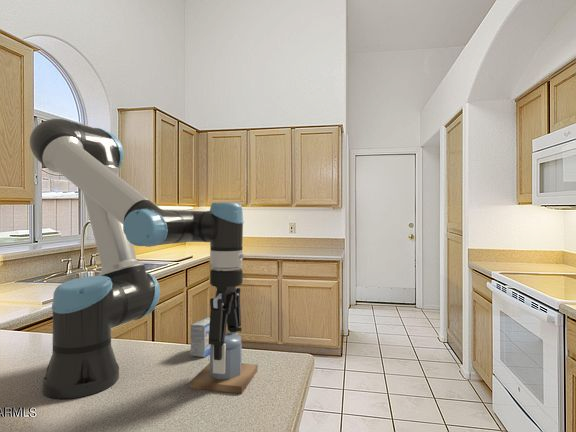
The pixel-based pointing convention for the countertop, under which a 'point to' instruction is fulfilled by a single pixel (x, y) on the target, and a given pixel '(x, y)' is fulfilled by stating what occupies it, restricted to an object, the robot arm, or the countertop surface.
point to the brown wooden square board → (224, 380)
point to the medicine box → (200, 338)
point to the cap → (229, 357)
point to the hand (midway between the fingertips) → (225, 365)
